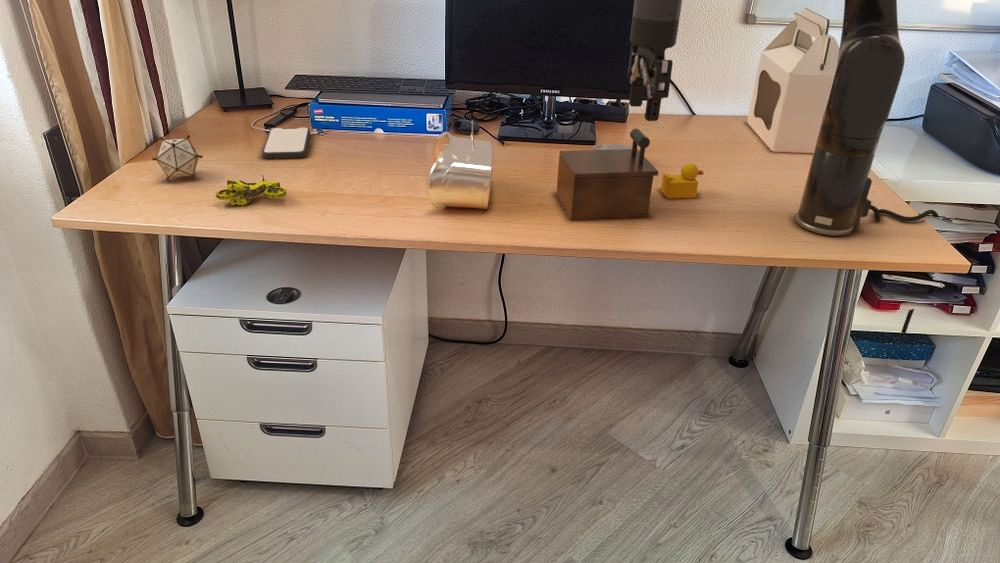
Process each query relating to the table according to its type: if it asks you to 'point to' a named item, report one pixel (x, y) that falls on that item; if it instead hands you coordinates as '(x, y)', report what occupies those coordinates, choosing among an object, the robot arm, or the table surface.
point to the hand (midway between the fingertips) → (642, 112)
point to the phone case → (286, 143)
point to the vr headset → (460, 172)
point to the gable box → (794, 85)
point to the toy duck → (681, 182)
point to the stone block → (611, 147)
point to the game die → (177, 157)
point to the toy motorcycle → (250, 191)
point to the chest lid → (611, 160)
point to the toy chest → (603, 195)
